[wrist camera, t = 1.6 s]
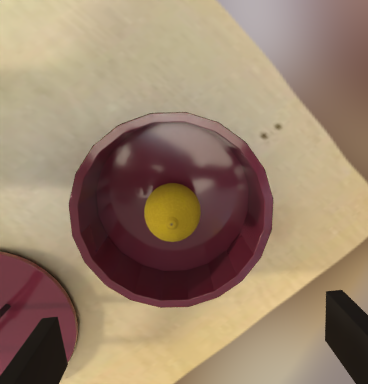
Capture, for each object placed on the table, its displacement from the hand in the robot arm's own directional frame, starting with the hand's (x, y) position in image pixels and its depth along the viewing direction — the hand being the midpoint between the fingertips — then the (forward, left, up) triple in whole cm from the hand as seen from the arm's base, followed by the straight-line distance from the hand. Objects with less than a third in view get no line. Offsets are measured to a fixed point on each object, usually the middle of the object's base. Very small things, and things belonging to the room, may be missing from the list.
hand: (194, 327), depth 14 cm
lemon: (-2, +1, -19) cm, 19 cm away
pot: (-2, +1, -19) cm, 19 cm away
